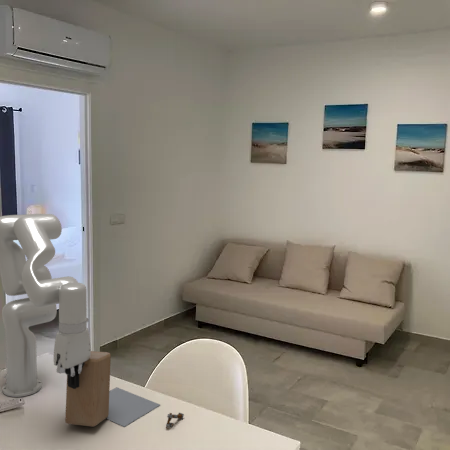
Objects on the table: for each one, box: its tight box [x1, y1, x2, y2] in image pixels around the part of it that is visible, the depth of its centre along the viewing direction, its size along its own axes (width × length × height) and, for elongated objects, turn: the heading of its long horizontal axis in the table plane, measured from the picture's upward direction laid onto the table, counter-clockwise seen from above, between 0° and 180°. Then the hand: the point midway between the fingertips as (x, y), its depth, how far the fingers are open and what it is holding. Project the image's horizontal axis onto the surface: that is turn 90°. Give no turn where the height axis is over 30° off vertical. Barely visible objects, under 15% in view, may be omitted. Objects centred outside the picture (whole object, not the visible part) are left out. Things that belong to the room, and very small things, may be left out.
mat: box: [104, 387, 161, 428], centre depth 163 cm, size 20×16×1 cm
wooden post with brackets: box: [165, 412, 185, 430], centre depth 153 cm, size 2×8×4 cm, turn 152°
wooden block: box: [64, 350, 112, 427], centre depth 152 cm, size 10×10×20 cm
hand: (73, 386), depth 145 cm, fingers closed
